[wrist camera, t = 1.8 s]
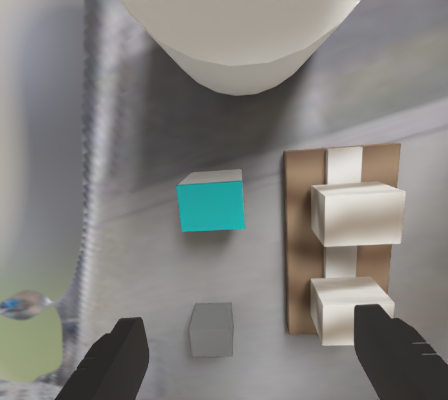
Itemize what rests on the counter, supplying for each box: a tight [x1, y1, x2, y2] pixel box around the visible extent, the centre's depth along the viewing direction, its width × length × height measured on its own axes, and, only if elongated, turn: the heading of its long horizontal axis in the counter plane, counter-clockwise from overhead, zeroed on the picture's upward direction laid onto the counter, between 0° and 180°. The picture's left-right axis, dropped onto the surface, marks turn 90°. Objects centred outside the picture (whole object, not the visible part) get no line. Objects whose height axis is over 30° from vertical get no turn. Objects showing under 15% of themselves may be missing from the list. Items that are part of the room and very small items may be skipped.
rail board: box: [284, 143, 406, 346], centre depth 29 cm, size 24×12×7 cm, turn 4°
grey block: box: [189, 303, 234, 357], centre depth 34 cm, size 4×5×5 cm
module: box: [176, 169, 245, 232], centre depth 28 cm, size 4×6×8 cm
